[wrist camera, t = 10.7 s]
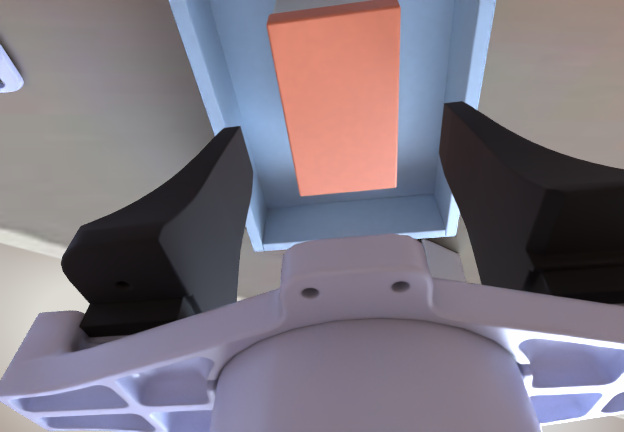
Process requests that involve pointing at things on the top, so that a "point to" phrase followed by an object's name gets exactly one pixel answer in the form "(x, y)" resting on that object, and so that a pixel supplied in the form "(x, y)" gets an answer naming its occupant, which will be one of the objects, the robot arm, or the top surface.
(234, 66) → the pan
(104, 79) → the top surface
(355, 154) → the sushi
